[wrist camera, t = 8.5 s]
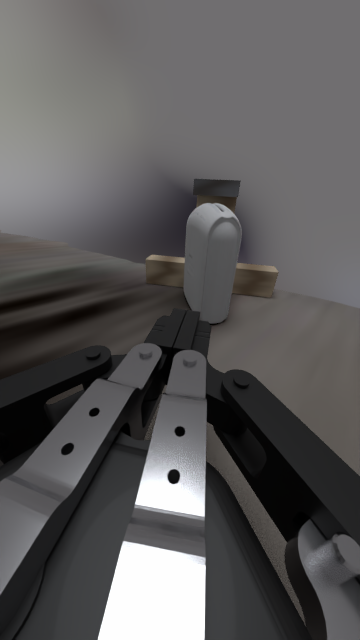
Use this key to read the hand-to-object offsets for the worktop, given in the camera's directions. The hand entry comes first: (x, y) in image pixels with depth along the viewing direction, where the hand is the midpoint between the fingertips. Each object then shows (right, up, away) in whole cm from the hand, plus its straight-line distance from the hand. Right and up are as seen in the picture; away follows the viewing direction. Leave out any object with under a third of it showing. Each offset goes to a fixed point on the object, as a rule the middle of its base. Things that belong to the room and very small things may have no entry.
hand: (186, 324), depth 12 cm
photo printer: (+3, +2, +17) cm, 17 cm away
